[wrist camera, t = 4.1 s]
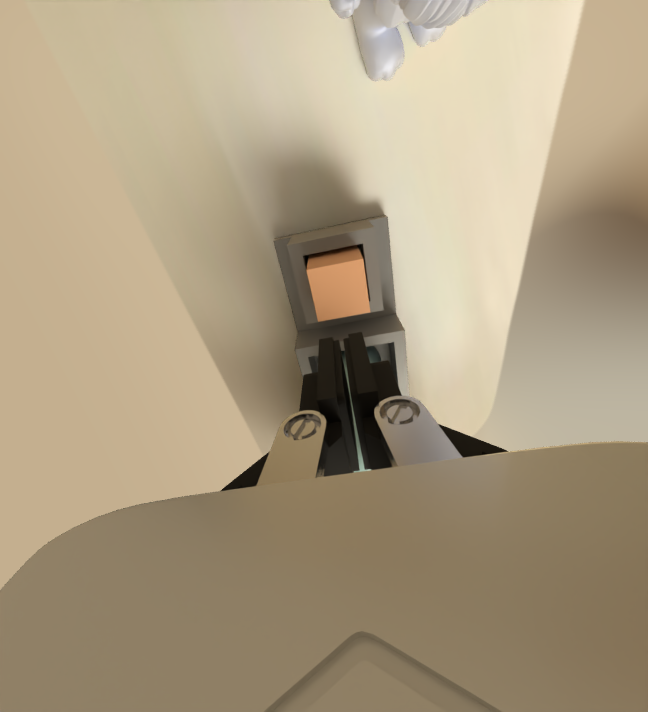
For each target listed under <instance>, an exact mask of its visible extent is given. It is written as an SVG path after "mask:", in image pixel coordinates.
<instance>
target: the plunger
mask: <svg viewBox="0 0 648 712" xmlns="http://www.w3.org/2000/svg"><path fill="white" fill-rule="evenodd" d="M306 271H307V275H308V279H309V284H310V288H311V293H312V297H313V301H314V306H315V310H316V315H317V319H318V322H320V321H326V320H331V319H336V318H342V317H347V316H353V315H358V314H364V313H369V312H370V306H369V298H368V291H367V283H366V275H365V268H364V260H363V257H362V255H361V253H360V251H359V249H358V246H357V245H353V246H348V247H343V248H338V249H333V250H329V251H324V252H319V253H314V254H309V259H308V264H307V270H306Z"/></svg>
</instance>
